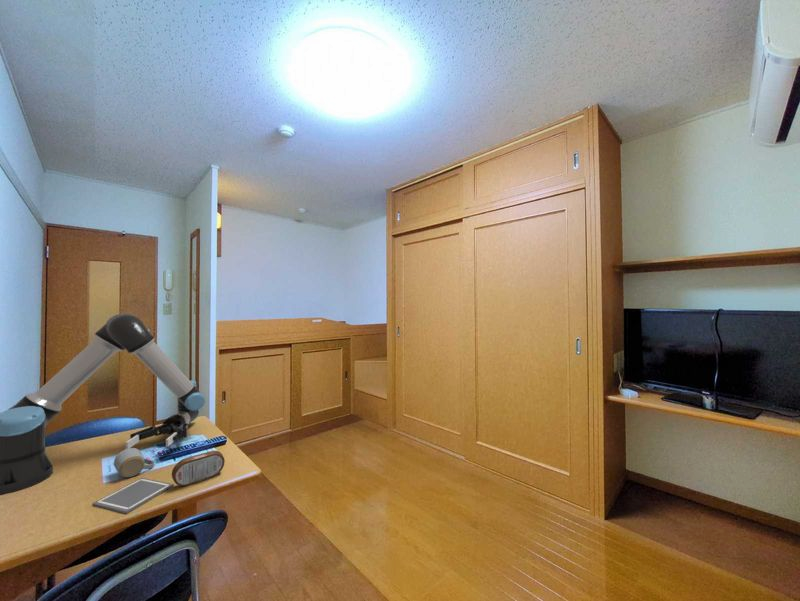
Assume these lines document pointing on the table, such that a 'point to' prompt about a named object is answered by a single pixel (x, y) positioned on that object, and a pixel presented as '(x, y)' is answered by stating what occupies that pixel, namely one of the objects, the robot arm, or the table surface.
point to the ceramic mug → (131, 462)
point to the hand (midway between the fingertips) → (146, 444)
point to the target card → (133, 495)
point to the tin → (198, 468)
